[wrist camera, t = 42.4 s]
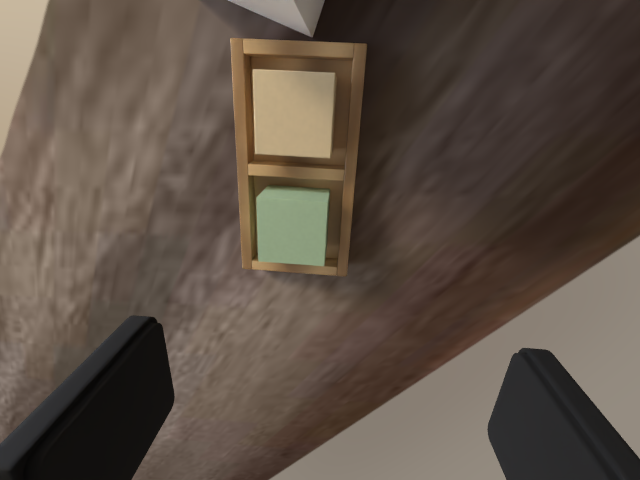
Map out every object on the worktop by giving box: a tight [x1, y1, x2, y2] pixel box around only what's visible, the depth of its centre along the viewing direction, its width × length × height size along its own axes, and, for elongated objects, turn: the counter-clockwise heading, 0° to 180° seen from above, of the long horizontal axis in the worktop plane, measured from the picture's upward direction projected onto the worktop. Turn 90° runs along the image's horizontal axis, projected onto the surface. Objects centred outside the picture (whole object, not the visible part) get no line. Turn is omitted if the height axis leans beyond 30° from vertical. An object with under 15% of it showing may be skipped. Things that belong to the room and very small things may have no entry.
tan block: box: [253, 69, 337, 158], centre depth 27 cm, size 6×6×4 cm
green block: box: [256, 185, 330, 266], centre depth 30 cm, size 6×6×4 cm
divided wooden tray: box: [230, 38, 367, 276], centre depth 30 cm, size 10×20×3 cm, turn 177°
